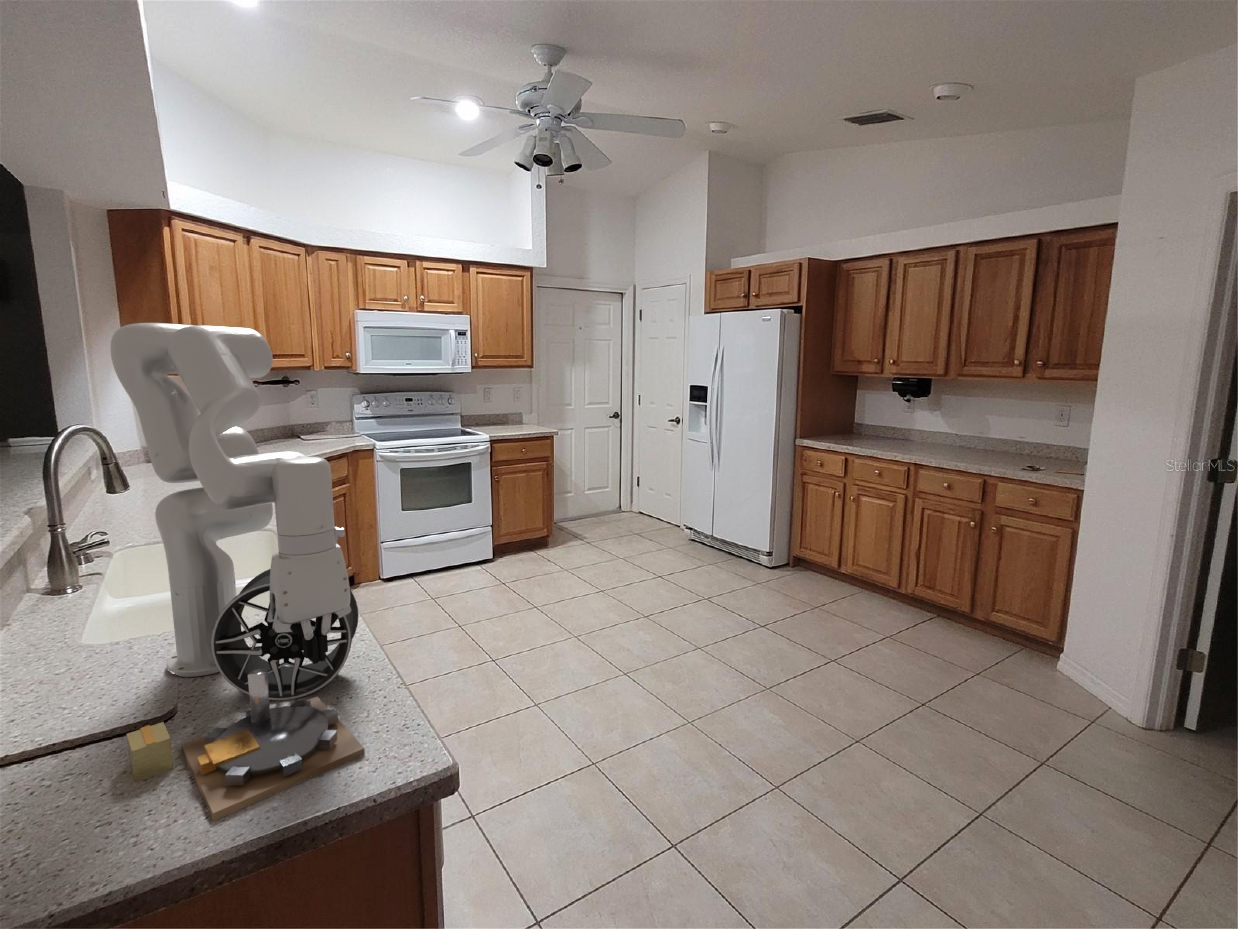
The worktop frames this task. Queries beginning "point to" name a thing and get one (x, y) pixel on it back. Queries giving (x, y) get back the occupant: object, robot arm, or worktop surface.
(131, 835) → the worktop surface
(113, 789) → the worktop surface
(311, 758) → the sprocket base
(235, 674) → the wheel rim
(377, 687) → the worktop surface
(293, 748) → the sprocket
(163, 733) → the tan block with orange
